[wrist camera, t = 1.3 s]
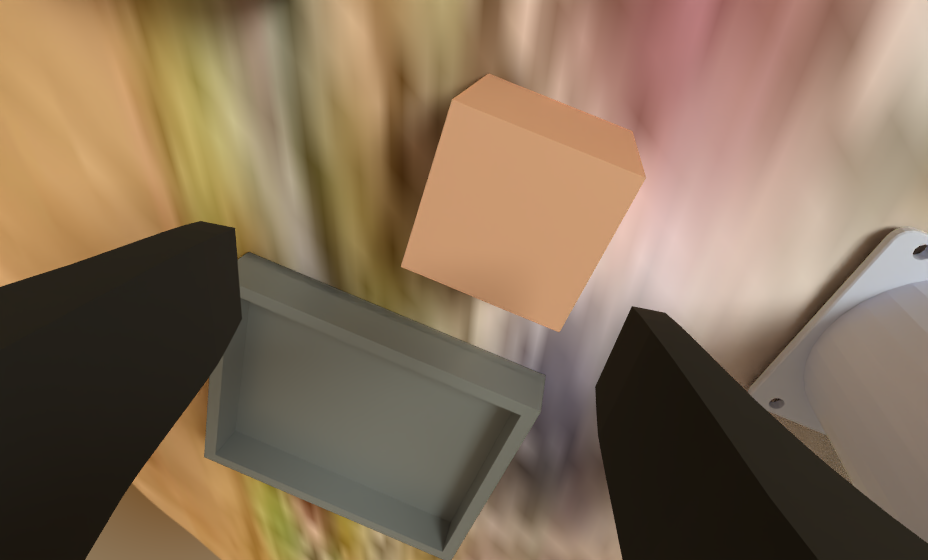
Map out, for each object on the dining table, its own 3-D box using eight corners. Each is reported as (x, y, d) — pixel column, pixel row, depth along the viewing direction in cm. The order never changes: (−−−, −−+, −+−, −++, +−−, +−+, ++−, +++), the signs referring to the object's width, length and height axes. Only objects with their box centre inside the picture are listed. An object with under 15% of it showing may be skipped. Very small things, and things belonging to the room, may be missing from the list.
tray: (545, 375, 22) (540, 411, 20) (459, 524, 28) (449, 562, 26) (248, 251, 22) (216, 275, 20) (229, 426, 28) (204, 456, 26)
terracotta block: (632, 130, 16) (645, 177, 12) (567, 256, 19) (559, 332, 15) (488, 73, 16) (452, 99, 12) (444, 206, 19) (400, 266, 15)
